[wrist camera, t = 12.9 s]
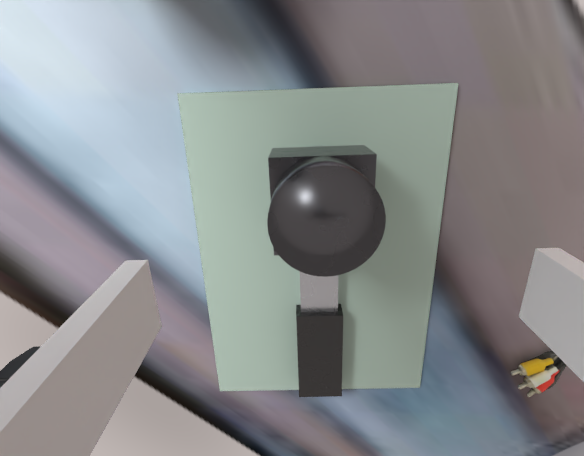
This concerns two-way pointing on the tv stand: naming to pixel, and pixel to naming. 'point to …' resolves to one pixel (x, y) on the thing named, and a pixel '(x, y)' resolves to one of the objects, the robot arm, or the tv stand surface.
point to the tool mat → (282, 277)
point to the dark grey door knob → (324, 207)
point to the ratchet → (319, 336)
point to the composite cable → (540, 372)
